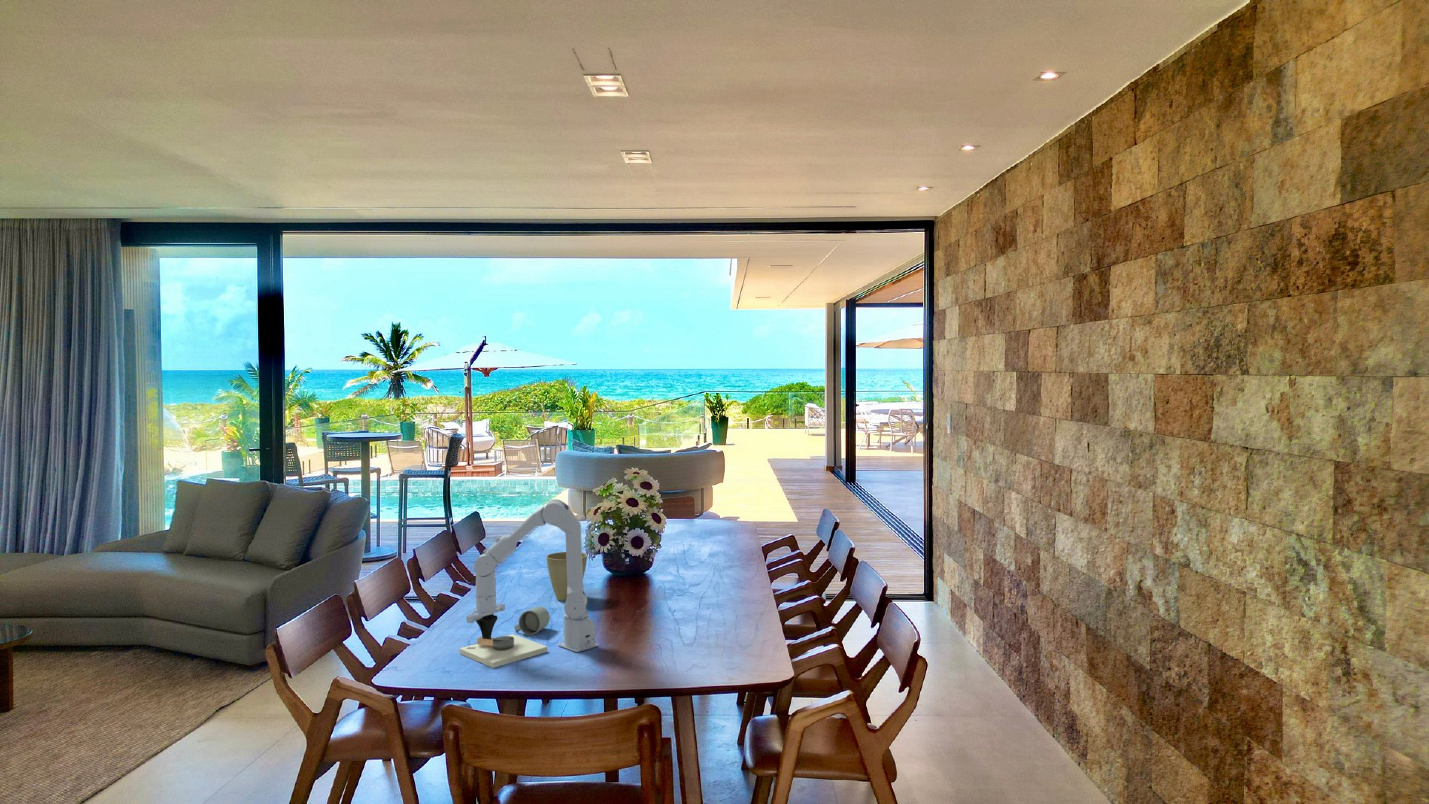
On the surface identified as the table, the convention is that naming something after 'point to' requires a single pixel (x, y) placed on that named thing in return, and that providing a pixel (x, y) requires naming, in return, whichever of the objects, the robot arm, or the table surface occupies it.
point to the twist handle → (497, 642)
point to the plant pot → (560, 573)
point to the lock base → (503, 652)
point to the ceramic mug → (533, 620)
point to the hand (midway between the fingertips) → (486, 640)
